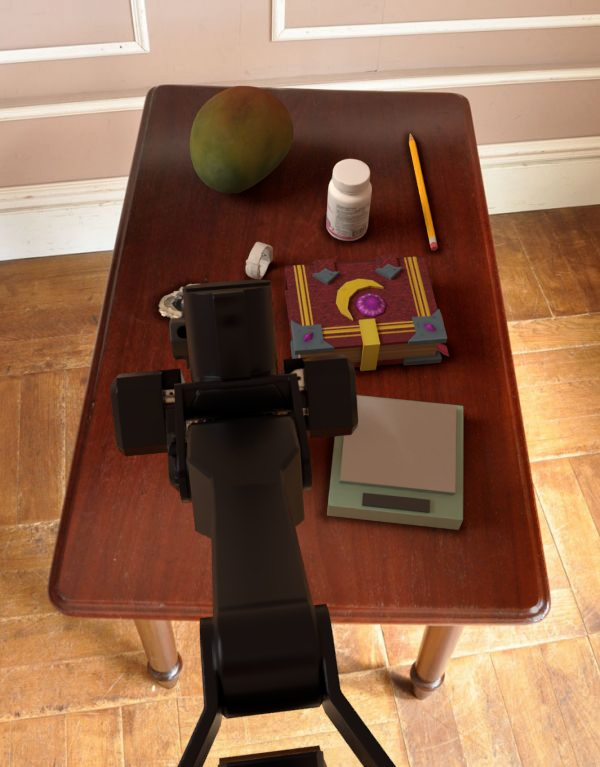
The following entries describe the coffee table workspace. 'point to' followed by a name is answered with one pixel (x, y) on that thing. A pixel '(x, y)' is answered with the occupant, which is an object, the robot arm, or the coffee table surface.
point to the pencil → (423, 194)
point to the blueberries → (172, 304)
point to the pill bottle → (349, 200)
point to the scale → (400, 464)
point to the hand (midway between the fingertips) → (233, 384)
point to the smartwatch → (259, 260)
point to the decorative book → (365, 311)
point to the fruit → (240, 138)
